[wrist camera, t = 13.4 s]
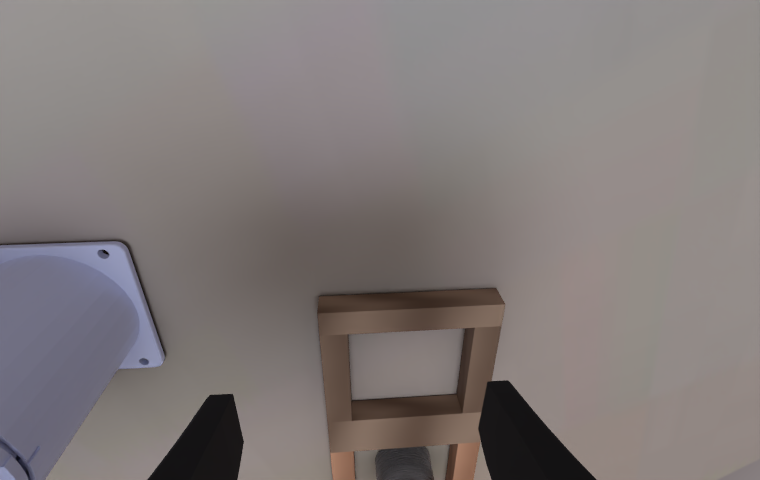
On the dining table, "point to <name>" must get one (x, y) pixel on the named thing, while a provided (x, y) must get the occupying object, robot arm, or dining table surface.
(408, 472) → the metal peg
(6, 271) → the robot arm
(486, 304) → the rail
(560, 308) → the dining table surface
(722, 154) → the dining table surface
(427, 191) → the dining table surface
